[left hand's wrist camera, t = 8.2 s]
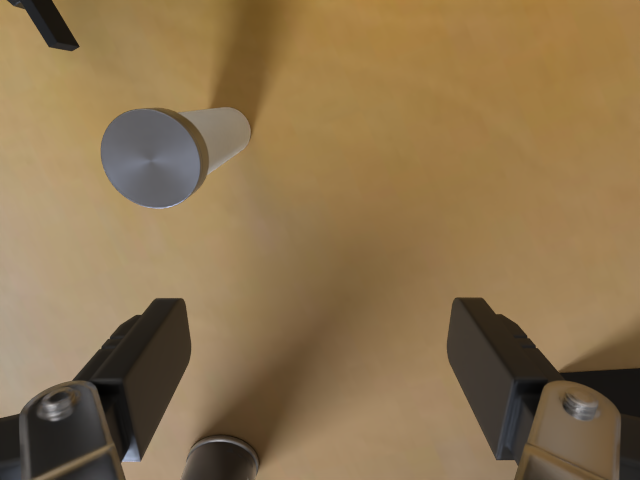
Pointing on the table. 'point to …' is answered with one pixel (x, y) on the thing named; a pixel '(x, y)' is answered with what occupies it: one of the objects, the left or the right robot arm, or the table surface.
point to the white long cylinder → (221, 132)
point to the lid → (154, 157)
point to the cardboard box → (613, 387)
